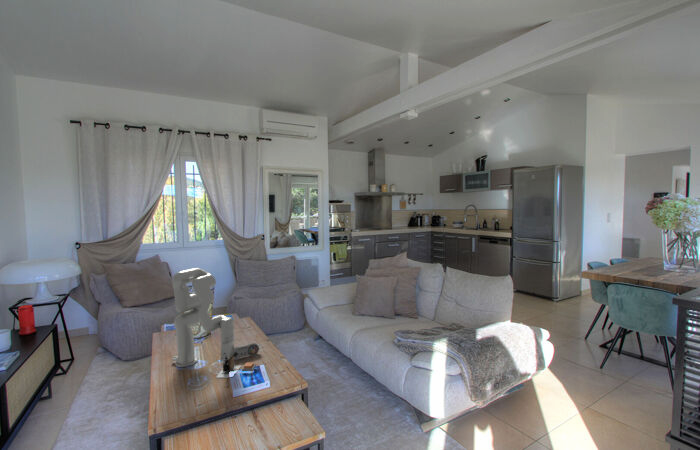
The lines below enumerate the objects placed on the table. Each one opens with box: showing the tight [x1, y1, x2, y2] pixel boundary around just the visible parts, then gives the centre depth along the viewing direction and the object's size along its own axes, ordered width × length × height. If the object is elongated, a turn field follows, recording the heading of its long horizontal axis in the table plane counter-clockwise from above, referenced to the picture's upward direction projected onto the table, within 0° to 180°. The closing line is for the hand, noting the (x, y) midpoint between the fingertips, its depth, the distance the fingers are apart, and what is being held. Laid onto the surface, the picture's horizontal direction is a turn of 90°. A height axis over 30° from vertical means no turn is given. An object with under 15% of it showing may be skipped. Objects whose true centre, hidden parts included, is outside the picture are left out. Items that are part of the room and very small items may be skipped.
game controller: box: [233, 342, 260, 362], centre depth 216 cm, size 20×2×8 cm, turn 123°
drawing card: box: [215, 365, 242, 379], centre depth 198 cm, size 10×14×1 cm
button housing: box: [241, 363, 257, 372], centre depth 198 cm, size 6×6×3 cm
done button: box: [243, 362, 255, 368], centre depth 198 cm, size 4×4×2 cm
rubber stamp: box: [222, 356, 235, 372], centre depth 198 cm, size 5×5×7 cm
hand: (228, 367), depth 198 cm, fingers closed on rubber stamp, 5 cm apart
